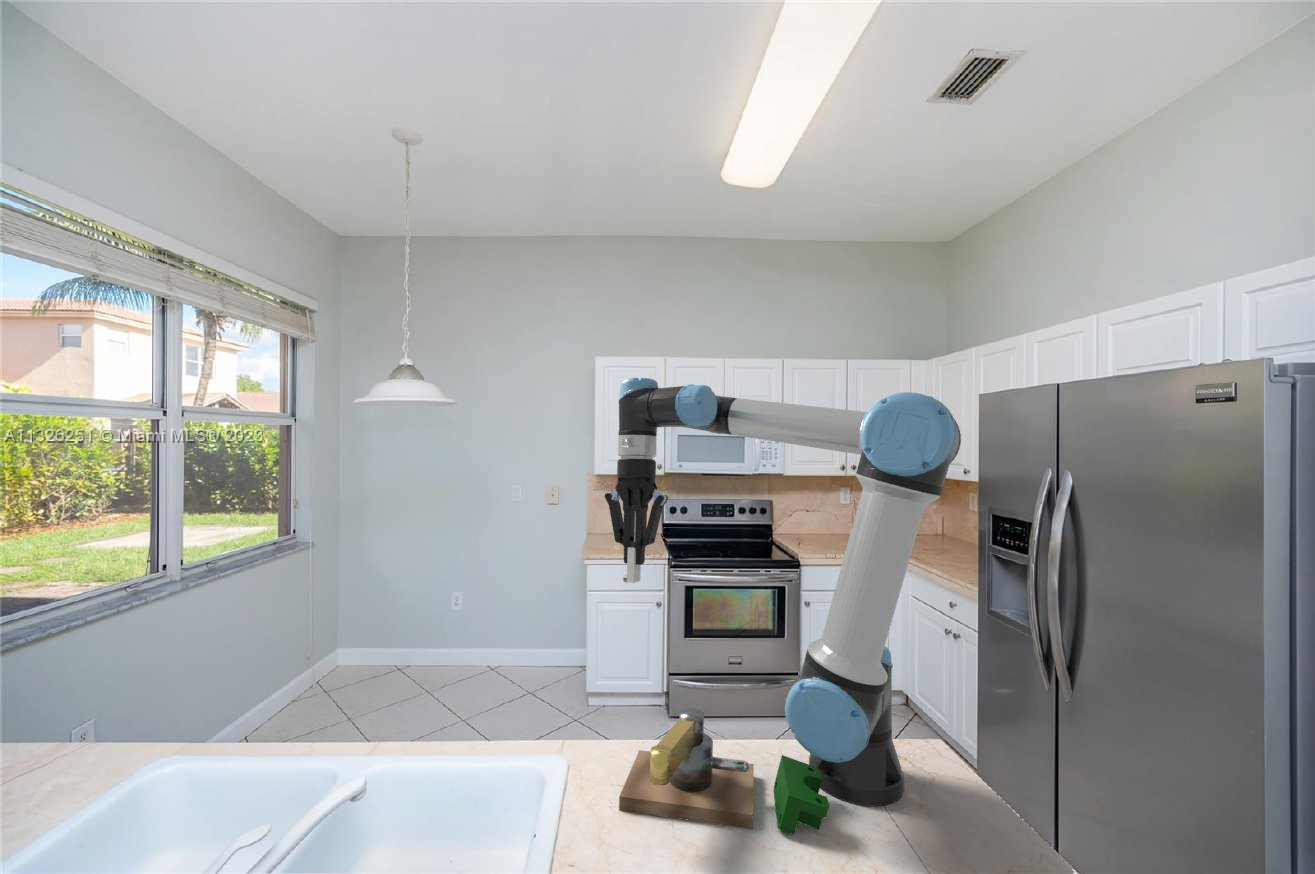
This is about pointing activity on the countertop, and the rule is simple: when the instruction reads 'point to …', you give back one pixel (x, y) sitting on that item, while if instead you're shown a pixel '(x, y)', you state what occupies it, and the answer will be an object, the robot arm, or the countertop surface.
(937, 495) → the robot arm
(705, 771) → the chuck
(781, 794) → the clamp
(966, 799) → the countertop surface
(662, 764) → the yellow bar
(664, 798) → the stand
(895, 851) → the countertop surface
